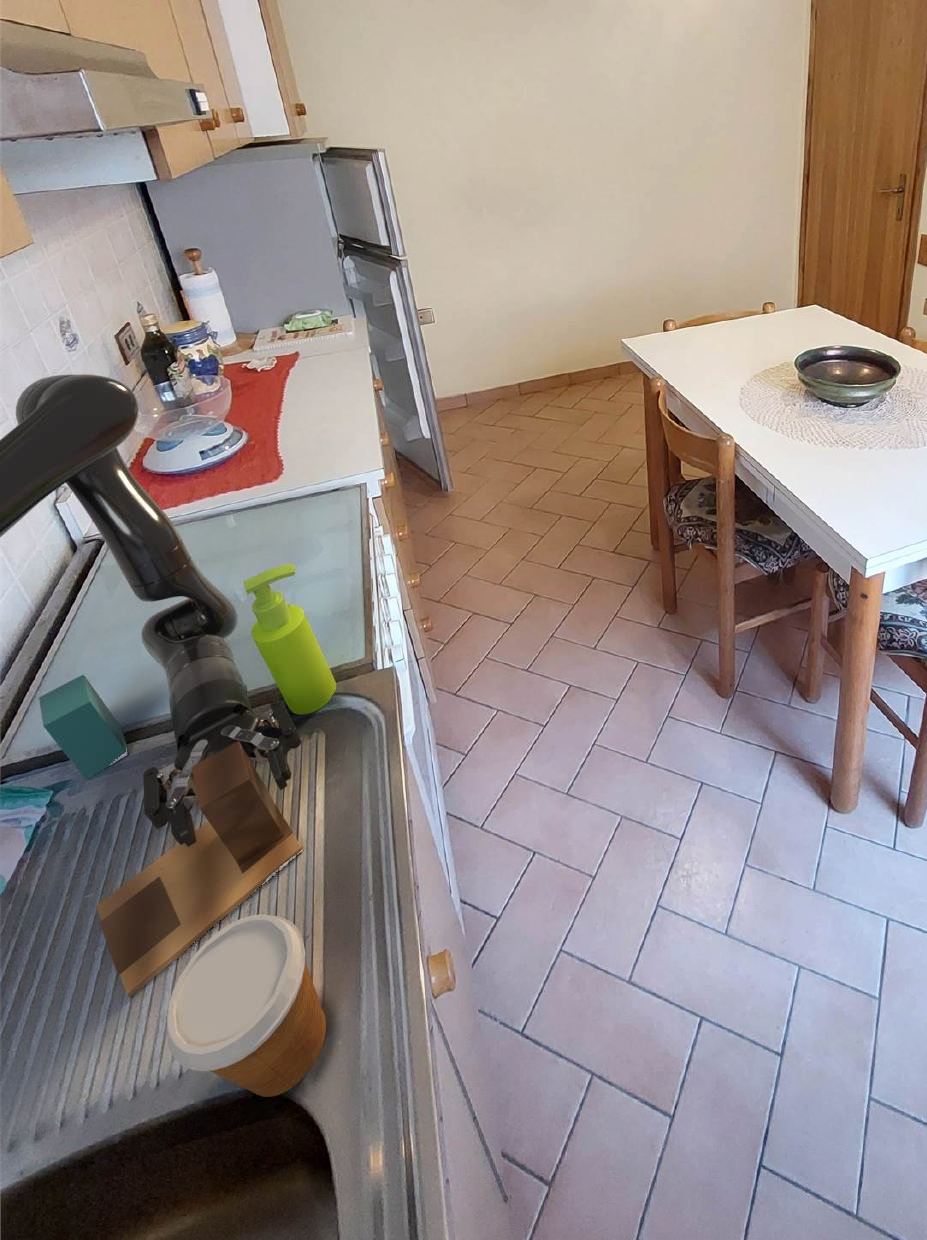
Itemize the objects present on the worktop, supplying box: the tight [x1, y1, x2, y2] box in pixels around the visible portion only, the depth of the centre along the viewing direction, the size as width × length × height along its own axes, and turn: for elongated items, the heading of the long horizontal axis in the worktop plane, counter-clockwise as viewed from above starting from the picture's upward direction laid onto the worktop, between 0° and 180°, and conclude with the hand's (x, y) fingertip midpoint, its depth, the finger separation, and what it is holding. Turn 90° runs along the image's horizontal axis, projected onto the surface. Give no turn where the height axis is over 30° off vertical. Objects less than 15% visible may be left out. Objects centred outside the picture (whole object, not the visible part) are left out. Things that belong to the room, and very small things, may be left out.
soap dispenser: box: [243, 563, 337, 716], centre depth 84 cm, size 6×7×20 cm
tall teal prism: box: [38, 674, 127, 781], centre depth 81 cm, size 4×6×10 cm
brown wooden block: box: [191, 741, 284, 865], centre depth 70 cm, size 4×6×10 cm
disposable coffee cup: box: [166, 914, 327, 1098], centre depth 54 cm, size 10×10×12 cm
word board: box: [95, 802, 303, 998], centre depth 69 cm, size 16×11×1 cm
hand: (236, 810), depth 68 cm, fingers open, 8 cm apart
